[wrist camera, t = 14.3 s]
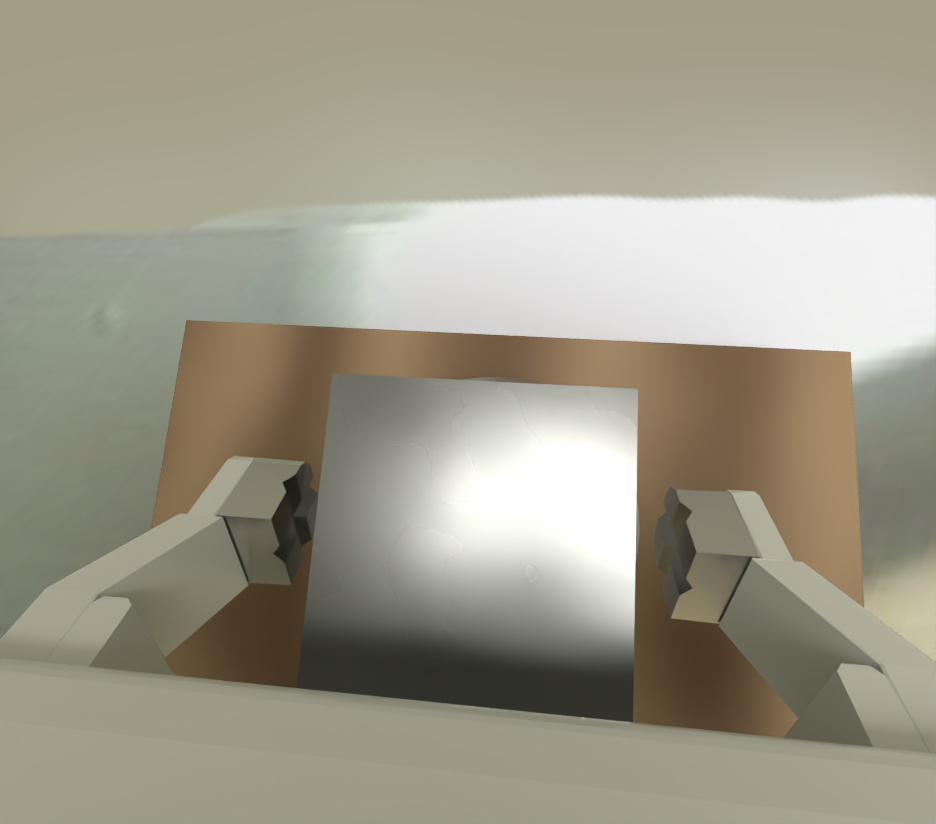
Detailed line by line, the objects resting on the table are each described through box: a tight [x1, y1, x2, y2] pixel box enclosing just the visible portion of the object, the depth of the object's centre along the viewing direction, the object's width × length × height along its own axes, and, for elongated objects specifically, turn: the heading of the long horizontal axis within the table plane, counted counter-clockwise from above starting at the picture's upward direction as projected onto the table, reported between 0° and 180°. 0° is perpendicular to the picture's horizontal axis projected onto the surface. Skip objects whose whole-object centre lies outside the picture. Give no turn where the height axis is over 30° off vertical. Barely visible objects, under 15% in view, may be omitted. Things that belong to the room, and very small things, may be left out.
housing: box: [296, 373, 638, 722], centre depth 12 cm, size 5×5×8 cm
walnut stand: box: [151, 320, 864, 738], centre depth 18 cm, size 22×12×4 cm, turn 86°
